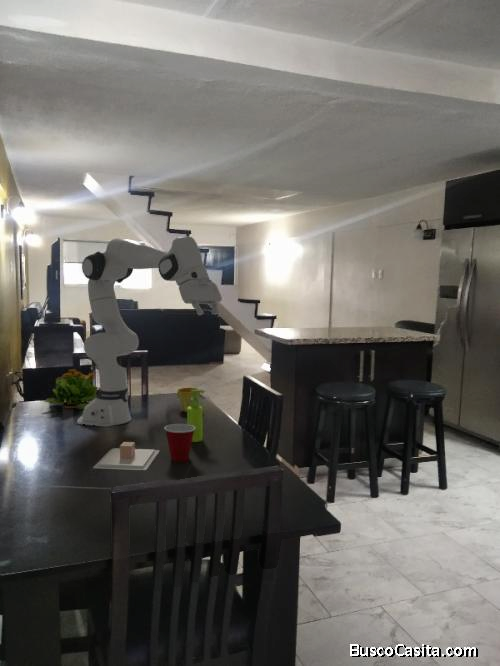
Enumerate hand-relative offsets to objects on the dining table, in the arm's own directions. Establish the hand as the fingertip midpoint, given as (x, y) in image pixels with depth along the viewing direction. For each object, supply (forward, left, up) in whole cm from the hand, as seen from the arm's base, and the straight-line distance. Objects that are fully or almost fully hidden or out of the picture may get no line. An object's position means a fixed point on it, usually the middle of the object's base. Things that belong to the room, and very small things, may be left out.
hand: (208, 314), depth 178 cm
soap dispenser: (-6, +9, -50) cm, 51 cm away
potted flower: (-74, +51, -50) cm, 103 cm away
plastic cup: (-8, -11, -50) cm, 52 cm away
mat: (-26, -13, -50) cm, 58 cm away
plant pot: (-17, +50, -50) cm, 73 cm away
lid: (-26, -13, -49) cm, 57 cm away
